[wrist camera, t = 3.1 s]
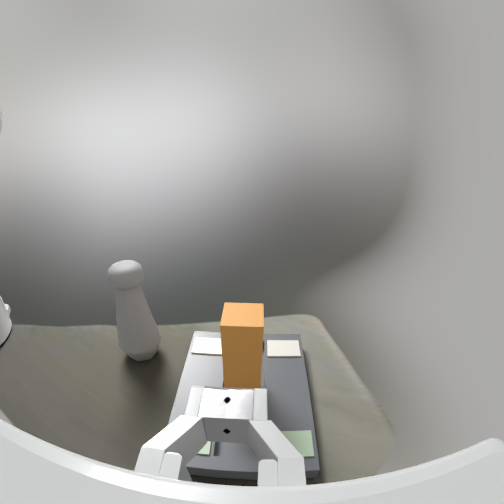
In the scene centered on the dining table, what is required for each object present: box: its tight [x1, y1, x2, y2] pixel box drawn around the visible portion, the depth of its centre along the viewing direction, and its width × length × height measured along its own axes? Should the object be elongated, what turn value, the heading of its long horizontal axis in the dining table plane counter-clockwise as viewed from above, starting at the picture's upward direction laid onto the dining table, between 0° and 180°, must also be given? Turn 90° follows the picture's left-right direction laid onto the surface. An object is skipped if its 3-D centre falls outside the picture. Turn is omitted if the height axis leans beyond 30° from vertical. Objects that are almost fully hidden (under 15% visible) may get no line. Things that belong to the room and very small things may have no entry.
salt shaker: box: [108, 260, 161, 362], centre depth 34 cm, size 6×6×13 cm
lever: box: [220, 303, 264, 388], centre depth 27 cm, size 4×4×11 cm
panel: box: [168, 331, 320, 480], centre depth 29 cm, size 14×20×2 cm
